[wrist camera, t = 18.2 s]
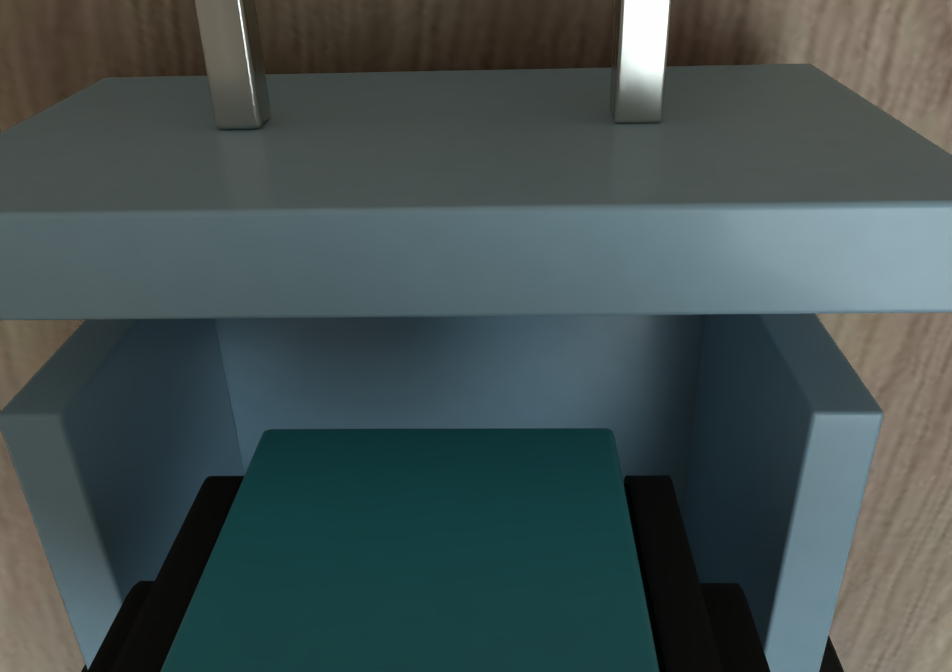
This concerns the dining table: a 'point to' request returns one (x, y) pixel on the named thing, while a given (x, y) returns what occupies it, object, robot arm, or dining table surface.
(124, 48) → the dining table surface
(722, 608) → the robot arm
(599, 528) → the teal block
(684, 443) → the drawer
